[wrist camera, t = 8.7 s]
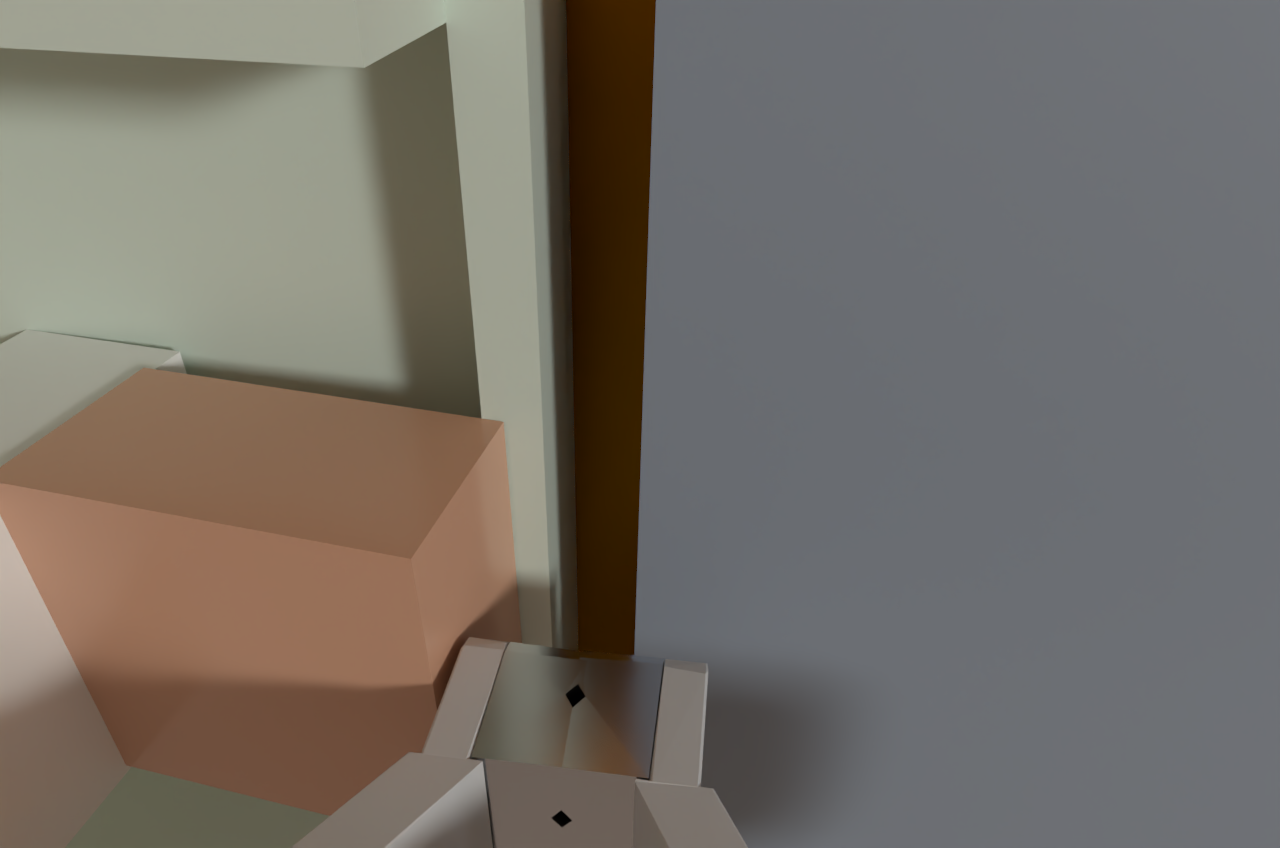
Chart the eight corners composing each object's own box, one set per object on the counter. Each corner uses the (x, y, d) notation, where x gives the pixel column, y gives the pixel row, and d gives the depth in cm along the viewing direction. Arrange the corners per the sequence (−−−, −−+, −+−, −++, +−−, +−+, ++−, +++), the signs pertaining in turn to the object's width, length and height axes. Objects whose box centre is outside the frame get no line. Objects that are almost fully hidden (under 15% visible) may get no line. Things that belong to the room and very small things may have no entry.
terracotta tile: (142, 367, 11) (-18, 479, 9) (502, 421, 10) (411, 558, 8) (235, 633, 14) (126, 765, 12) (526, 695, 13) (461, 849, 11)
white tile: (180, 351, 12) (27, 329, 12) (-182, 607, 8) (-388, 560, 8) (261, 610, 15) (133, 583, 15) (22, 898, 11) (-142, 850, 11)
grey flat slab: (682, -106, 9) (658, -92, 7) (2228, -49, 8) (2752, -13, 6) (641, 804, 18) (625, 929, 16) (1363, 893, 17) (1448, 1041, 15)
